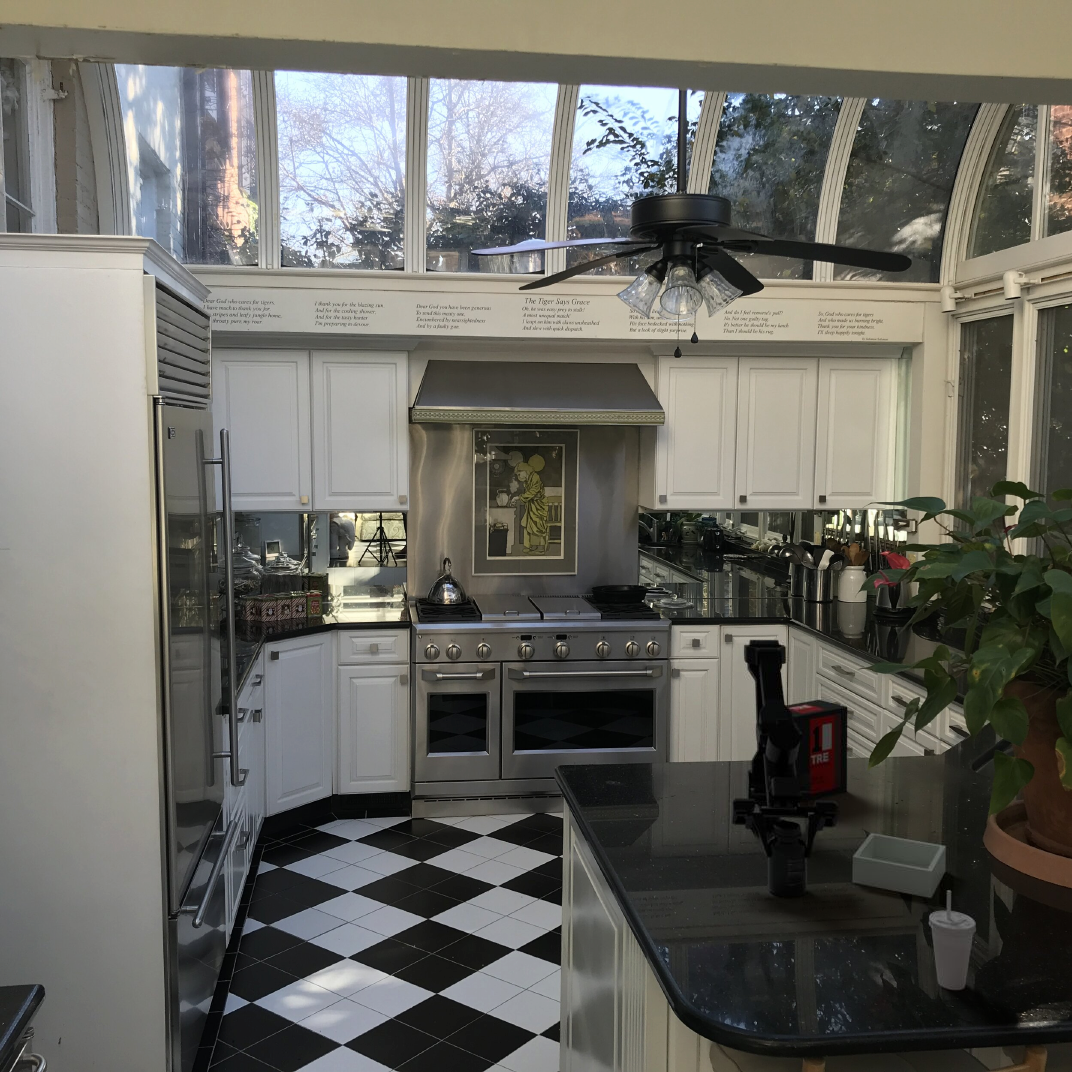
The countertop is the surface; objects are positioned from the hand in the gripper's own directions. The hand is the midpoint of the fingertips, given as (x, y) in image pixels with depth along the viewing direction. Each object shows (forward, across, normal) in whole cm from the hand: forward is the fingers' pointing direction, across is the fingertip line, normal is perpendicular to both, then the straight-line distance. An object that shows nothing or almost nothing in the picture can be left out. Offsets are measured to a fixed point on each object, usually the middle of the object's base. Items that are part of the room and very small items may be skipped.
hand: (788, 857), depth 180 cm
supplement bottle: (+4, 0, +6) cm, 7 cm away
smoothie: (+26, +20, -16) cm, 36 cm away
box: (-2, +21, +11) cm, 24 cm away
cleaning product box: (-35, +11, +45) cm, 58 cm away
